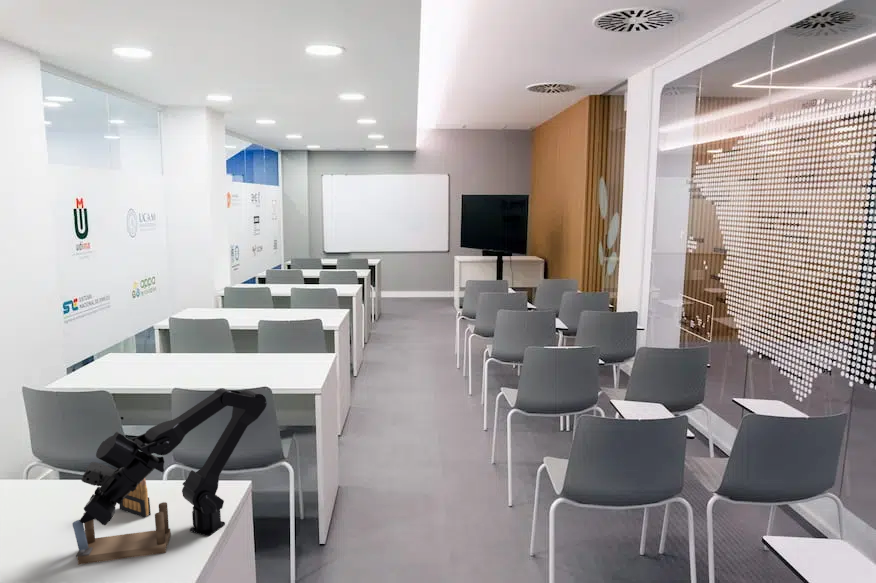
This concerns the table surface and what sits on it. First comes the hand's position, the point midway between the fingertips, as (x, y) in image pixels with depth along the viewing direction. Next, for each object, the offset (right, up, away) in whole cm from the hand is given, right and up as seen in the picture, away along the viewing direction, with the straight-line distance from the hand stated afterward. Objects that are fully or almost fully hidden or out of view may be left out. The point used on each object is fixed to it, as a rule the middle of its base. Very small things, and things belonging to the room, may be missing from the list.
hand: (81, 521), depth 142 cm
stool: (+7, -9, +6) cm, 14 cm away
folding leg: (0, -8, +1) cm, 8 cm away
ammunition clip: (0, -7, +25) cm, 26 cm away
